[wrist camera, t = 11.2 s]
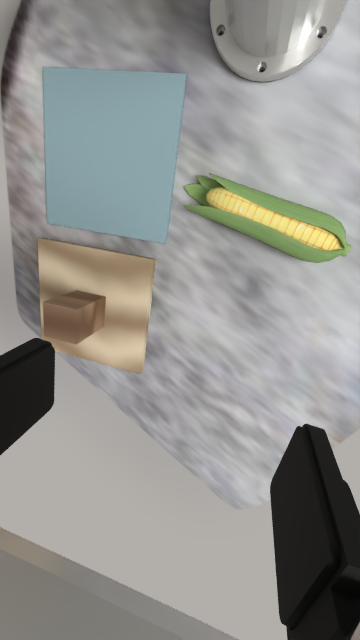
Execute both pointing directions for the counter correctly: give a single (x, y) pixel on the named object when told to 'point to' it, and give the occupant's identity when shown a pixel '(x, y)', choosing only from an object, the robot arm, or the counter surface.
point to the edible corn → (270, 219)
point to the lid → (95, 302)
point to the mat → (112, 149)
